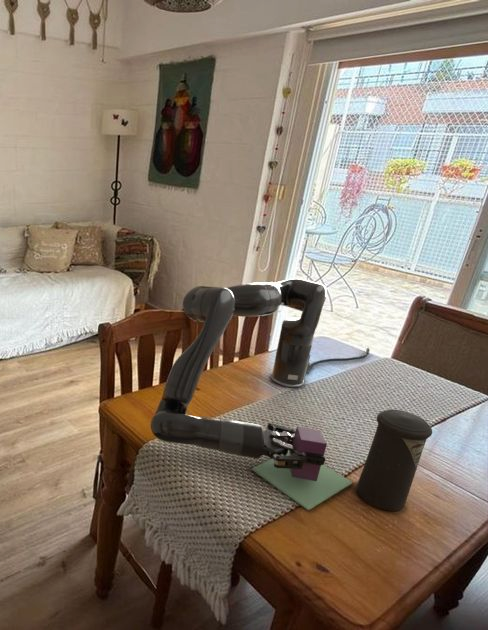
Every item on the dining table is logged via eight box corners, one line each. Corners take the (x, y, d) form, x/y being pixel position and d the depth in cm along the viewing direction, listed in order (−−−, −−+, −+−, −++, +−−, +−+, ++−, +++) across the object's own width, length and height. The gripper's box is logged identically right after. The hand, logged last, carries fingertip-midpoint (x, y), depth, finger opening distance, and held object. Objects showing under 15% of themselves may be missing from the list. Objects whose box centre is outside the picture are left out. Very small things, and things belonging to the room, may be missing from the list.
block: (287, 462, 102) (296, 426, 98) (311, 466, 101) (321, 430, 97) (291, 477, 97) (301, 439, 94) (316, 481, 96) (327, 443, 92)
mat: (295, 448, 109) (295, 447, 109) (352, 484, 97) (352, 482, 97) (251, 469, 101) (251, 468, 101) (308, 510, 90) (308, 509, 90)
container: (406, 519, 88) (437, 436, 81) (354, 501, 93) (379, 421, 85) (403, 492, 95) (431, 414, 88) (354, 477, 99) (378, 401, 92)
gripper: (244, 443, 92) (334, 459, 88) (239, 407, 105) (316, 419, 101) (239, 472, 95) (325, 488, 91) (234, 433, 108) (309, 446, 104)
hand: (320, 452), depth 96 cm, fingers closed on block, 5 cm apart
